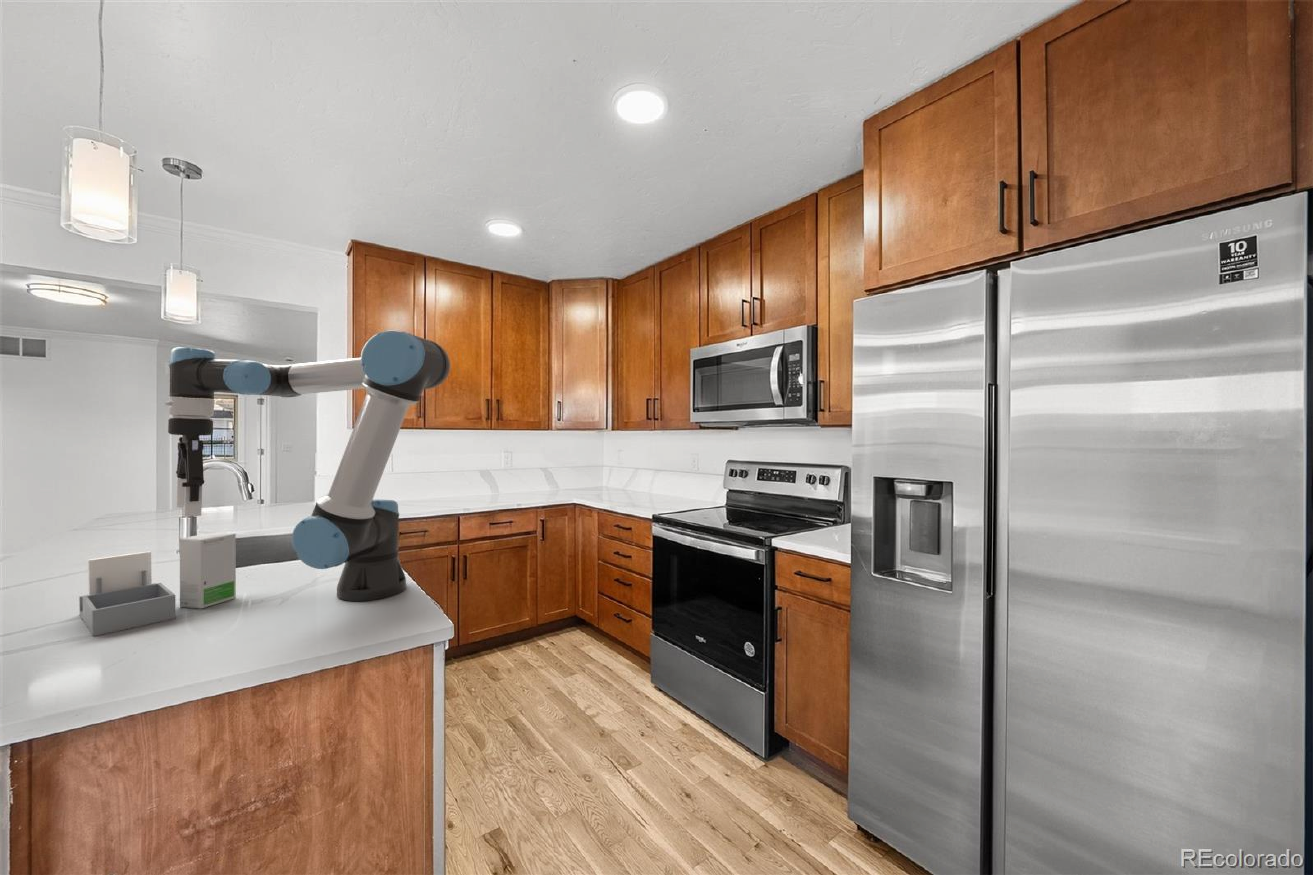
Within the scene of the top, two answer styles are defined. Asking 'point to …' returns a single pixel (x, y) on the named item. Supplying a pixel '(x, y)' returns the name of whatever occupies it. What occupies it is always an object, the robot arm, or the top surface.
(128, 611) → the grey open box
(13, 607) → the top surface
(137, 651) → the top surface
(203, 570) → the skincare box
